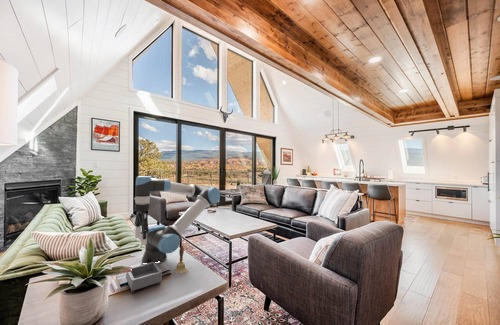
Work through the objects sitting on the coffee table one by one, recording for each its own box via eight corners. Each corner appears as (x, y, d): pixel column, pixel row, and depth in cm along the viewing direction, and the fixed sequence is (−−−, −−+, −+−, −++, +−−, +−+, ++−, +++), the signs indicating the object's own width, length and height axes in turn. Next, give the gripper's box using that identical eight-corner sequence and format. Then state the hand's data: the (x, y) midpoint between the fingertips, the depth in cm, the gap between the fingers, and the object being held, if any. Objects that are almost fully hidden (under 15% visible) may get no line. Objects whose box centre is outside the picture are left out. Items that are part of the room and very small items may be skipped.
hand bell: (172, 270, 127) (173, 244, 128) (186, 268, 131) (187, 242, 131) (174, 277, 120) (175, 249, 120) (189, 274, 124) (190, 247, 124)
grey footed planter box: (125, 282, 111) (126, 268, 111) (153, 274, 120) (154, 261, 120) (131, 295, 101) (132, 280, 101) (161, 285, 110) (162, 271, 110)
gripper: (130, 200, 126) (128, 236, 125) (140, 207, 107) (138, 249, 107) (143, 199, 131) (142, 233, 130) (156, 206, 112) (154, 246, 112)
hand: (140, 241), depth 119 cm, fingers open, 12 cm apart
